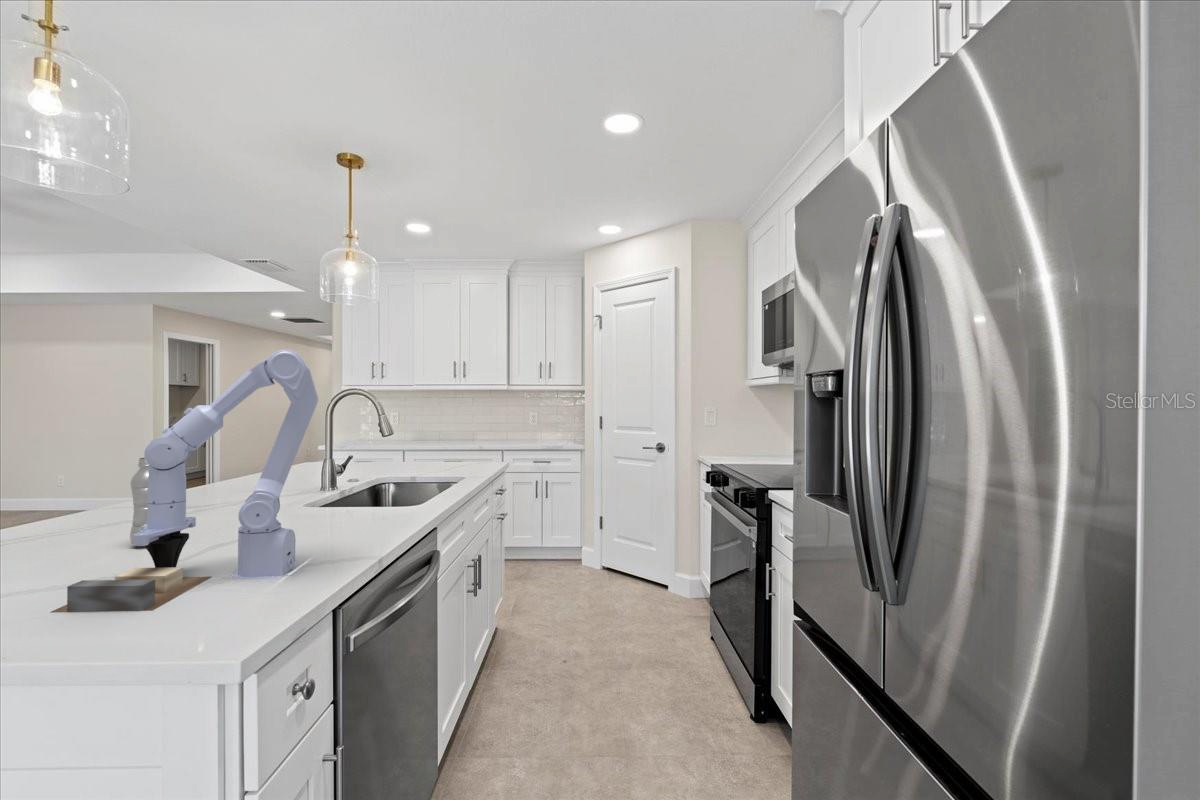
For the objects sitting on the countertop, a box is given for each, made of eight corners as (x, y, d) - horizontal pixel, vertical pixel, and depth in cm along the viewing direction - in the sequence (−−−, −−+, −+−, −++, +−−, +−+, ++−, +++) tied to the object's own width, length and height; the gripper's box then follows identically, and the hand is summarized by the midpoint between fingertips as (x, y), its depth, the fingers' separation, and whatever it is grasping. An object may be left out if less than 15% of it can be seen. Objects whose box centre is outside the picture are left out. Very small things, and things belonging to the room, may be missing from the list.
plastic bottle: (173, 542, 134) (174, 456, 134) (151, 549, 127) (152, 459, 127) (144, 541, 134) (145, 456, 134) (121, 549, 127) (122, 459, 127)
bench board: (212, 579, 109) (212, 555, 109) (152, 614, 92) (152, 585, 92) (126, 580, 107) (127, 556, 107) (49, 616, 90) (50, 586, 90)
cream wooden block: (182, 583, 104) (182, 567, 104) (164, 593, 99) (165, 576, 99) (135, 584, 104) (135, 567, 104) (114, 594, 99) (114, 576, 99)
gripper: (169, 494, 113) (168, 563, 113) (114, 509, 98) (113, 588, 98) (207, 494, 113) (206, 563, 114) (158, 509, 99) (157, 588, 99)
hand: (165, 575), depth 106 cm, fingers closed
